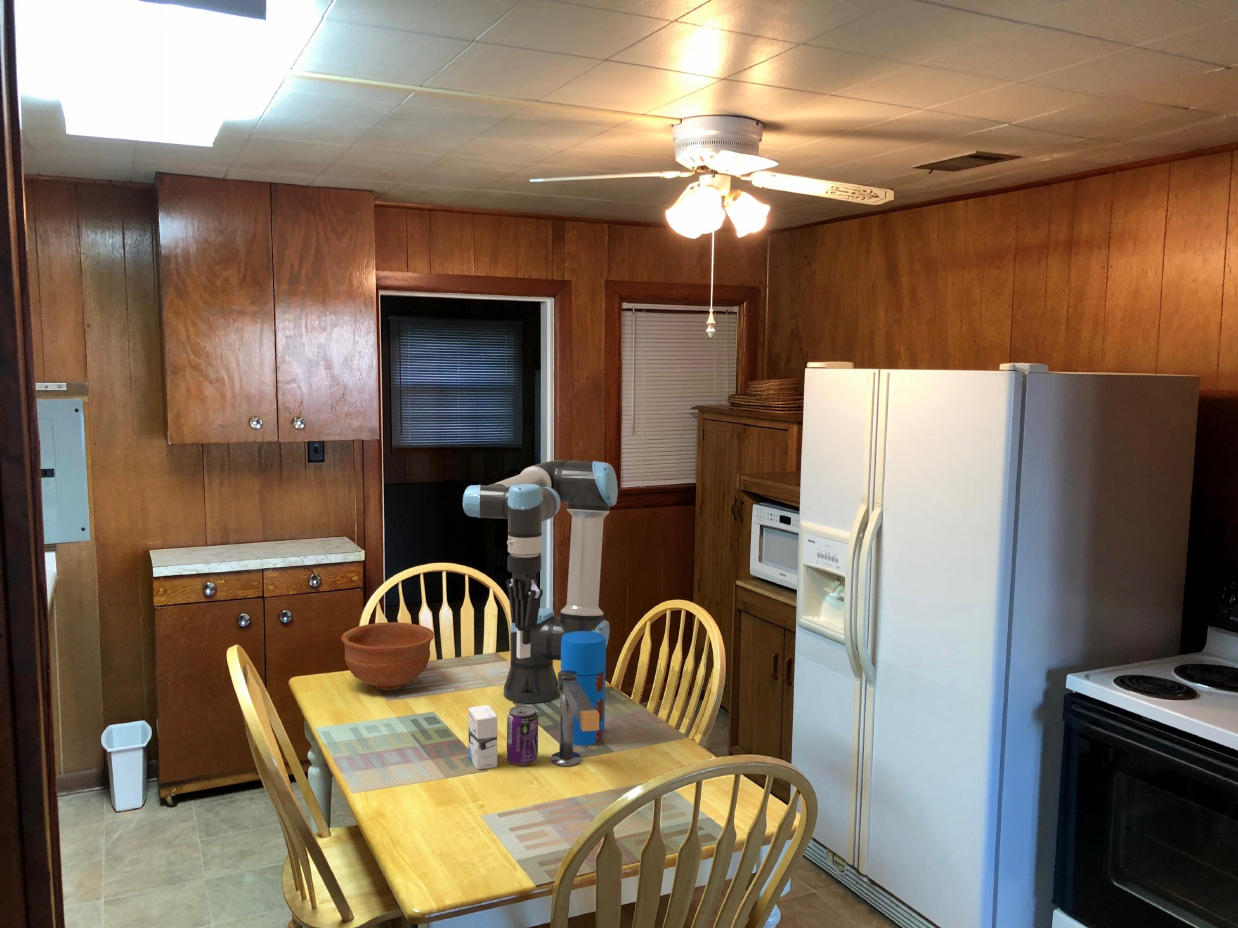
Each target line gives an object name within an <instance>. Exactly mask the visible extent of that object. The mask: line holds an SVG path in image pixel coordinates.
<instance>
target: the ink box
mask: <svg viewBox="0 0 1238 928" xmlns="http://www.w3.org/2000/svg"><path fill="white" fill-rule="evenodd" d="M467 709H468V712H467V713H468V714H467V715H468V716H467V718H468V720H467V721H468V722H467V724H468V725H467V726H468V727H467V732H468V733H467V736H468V737H467V738H468V739H467V756H468V758H469V760H470V761H471V762H472V764H473V765H474V766H475V769H476V770H485V769H491V768H497V767H498V716H497V714H496V712H495V711H494V710H493V709H492V707H491V706H490V705H489V704H485V705H479V706H478V705H477V706H471V707H468V708H467Z"/></svg>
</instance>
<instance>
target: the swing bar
mask: <svg viewBox="0 0 1238 928" xmlns="http://www.w3.org/2000/svg"><path fill="white" fill-rule="evenodd" d="M557 681H558V690H559V692H560V691H562V692H563V694H564V696H565V697H566V699H567V701H568V703H569V705H570V707H571V708H572V710H573V712H574V714H575V716H576V718H577V719H578V721H579V723H580V728H581V730H582V731H595V730H599V713H598V711H597V710H595V709H594V707H593V705H592V704H591V702H590V701H589V699H588V697H587V696H586V694H585V692H584V691H583V689H582V687H581V686H580V684H579V683H578V681H577V672H575V671H570V670H565V671H561V670H560V671H558V672H557Z"/></svg>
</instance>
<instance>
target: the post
mask: <svg viewBox="0 0 1238 928" xmlns="http://www.w3.org/2000/svg"><path fill="white" fill-rule="evenodd" d="M573 739H574V712H573V710H572V708H571V707H570V705H569V703H568V701H567V699H566V697H565V696H564V694H563V692H562V691H560V690H559V742H558V743H559V745H558V747H559V748H558V749H559V751H556V752H555V753H552V754H551V756H550V763H551V764H553V765H554V766H557V767H563V768H565V767H566V768H568V767H569V768H570V767H574V766H575V767H576V766H579V765H580V764H581V763H582V754H580V753H578V752H576V751H574V745H573Z"/></svg>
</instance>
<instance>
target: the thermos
mask: <svg viewBox="0 0 1238 928" xmlns="http://www.w3.org/2000/svg"><path fill="white" fill-rule="evenodd" d="M606 665H607V647H606V639H605V636H604V635H603V634H600V633H597V632H590V631H575V632H569V633H566V634H564V635H563V636H562V641H561V660H560V671H565V670H570V671H575V672H577V681H578V683H579V684H580V686H581V687H582V689H583V691H584V692H585V694H586V696H587V697H588V699H589V701H590V702H591V704H592V705H593V707H594V709H595V710H597V711H598V713H599V730H595V731H582V730H581V728H580V723H579V721H578V719H577V718H576V716H575V714H574V739H573V746H583V747H584V746H592V745H595V744H599V743H601V742H602V741H603V739H604V735H605V723H606V722H605V716H606V715H605V713H606V672H607V670H606V667H607V666H606Z"/></svg>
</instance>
